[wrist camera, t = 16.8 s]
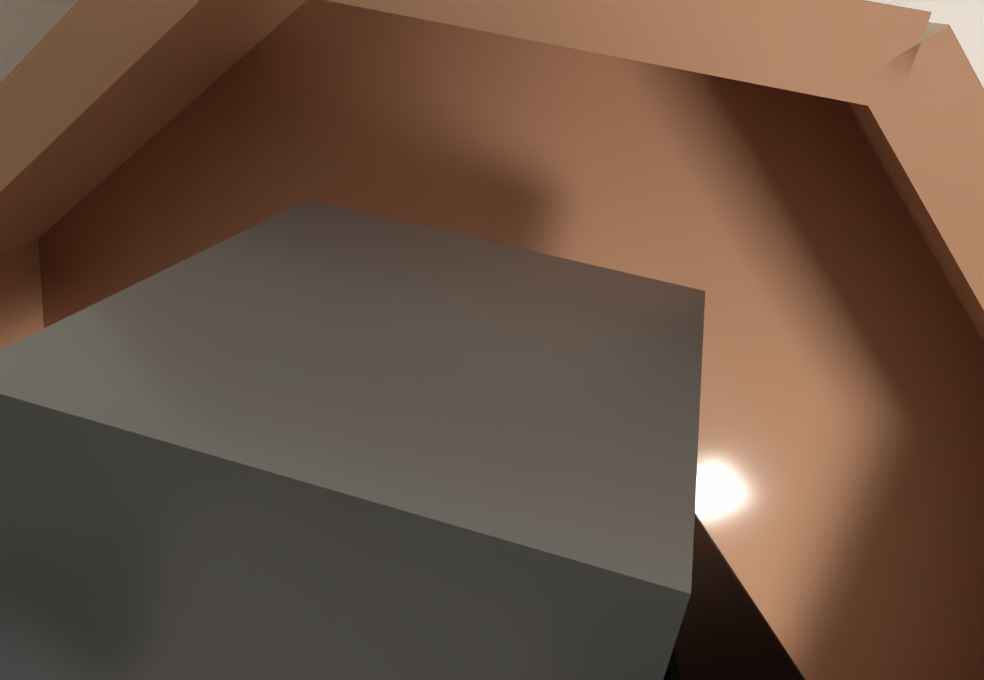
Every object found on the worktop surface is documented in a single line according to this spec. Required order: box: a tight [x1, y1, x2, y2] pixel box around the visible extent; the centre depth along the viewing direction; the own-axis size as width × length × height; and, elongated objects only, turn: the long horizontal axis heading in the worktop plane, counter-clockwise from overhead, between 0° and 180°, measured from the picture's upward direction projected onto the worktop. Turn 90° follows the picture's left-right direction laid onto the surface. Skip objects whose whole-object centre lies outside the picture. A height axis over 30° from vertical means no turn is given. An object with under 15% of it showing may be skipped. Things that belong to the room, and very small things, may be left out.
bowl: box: [0, 0, 984, 680], centre depth 12 cm, size 16×16×3 cm
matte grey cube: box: [0, 199, 705, 680], centre depth 8 cm, size 4×4×5 cm
